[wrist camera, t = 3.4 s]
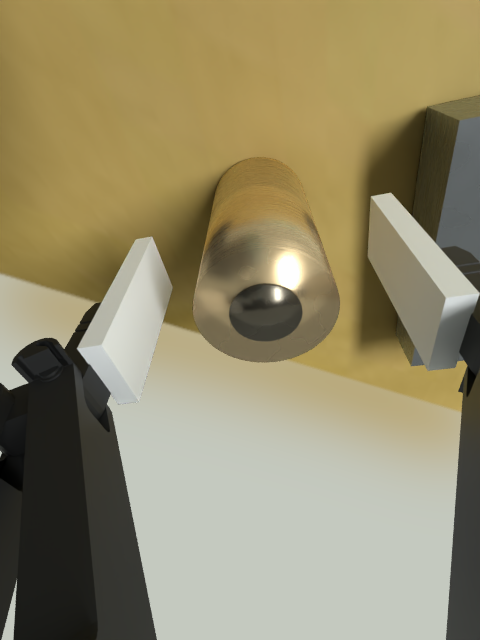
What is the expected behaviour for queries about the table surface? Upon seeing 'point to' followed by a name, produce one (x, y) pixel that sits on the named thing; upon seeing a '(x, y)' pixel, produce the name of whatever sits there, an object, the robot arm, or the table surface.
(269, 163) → the brass domed cylinder
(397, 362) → the table surface
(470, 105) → the plate
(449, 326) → the robot arm
